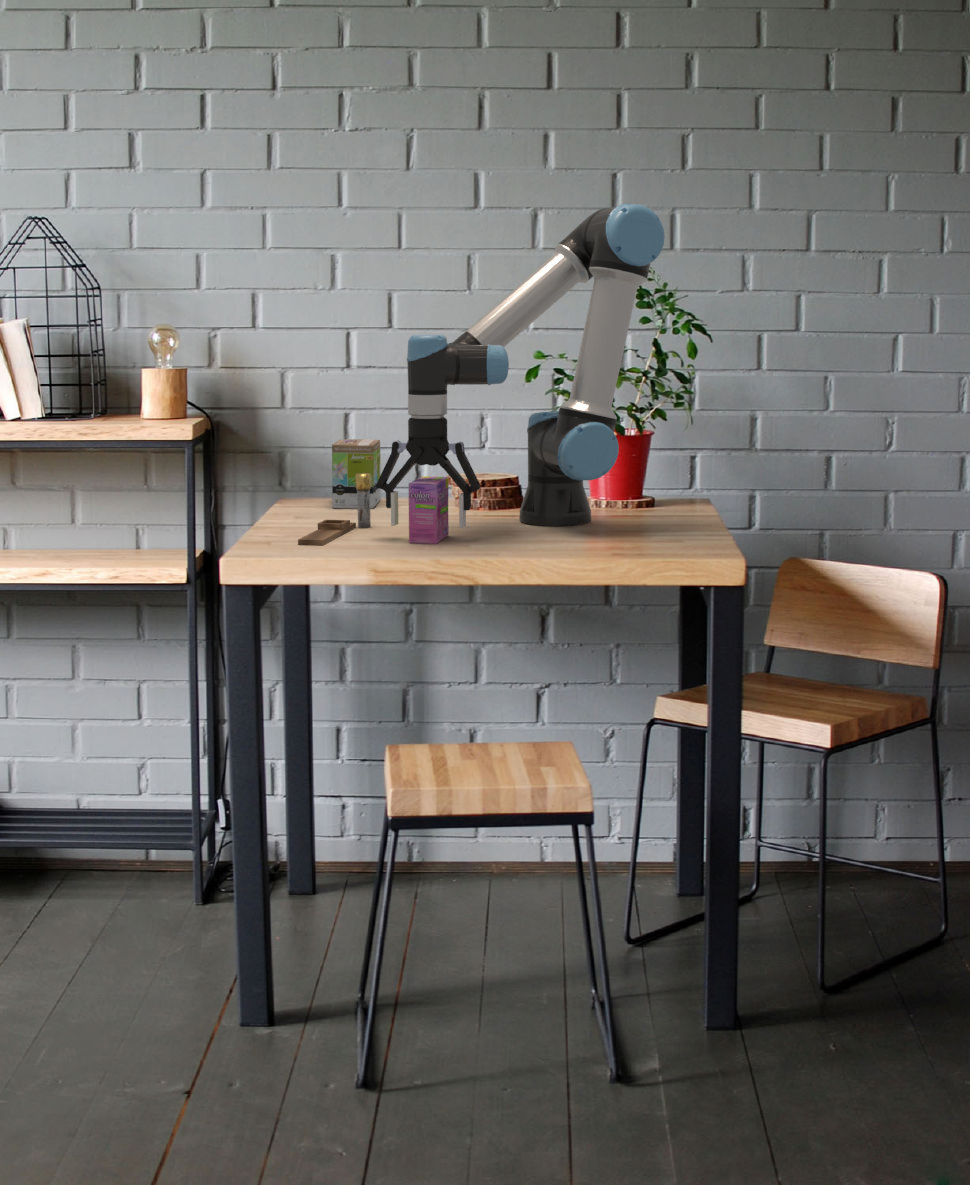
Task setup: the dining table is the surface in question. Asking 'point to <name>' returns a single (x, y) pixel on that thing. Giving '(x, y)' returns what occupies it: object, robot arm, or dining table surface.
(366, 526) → the silver gold cylinder
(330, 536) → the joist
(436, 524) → the box
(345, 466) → the tea box
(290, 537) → the dining table surface
